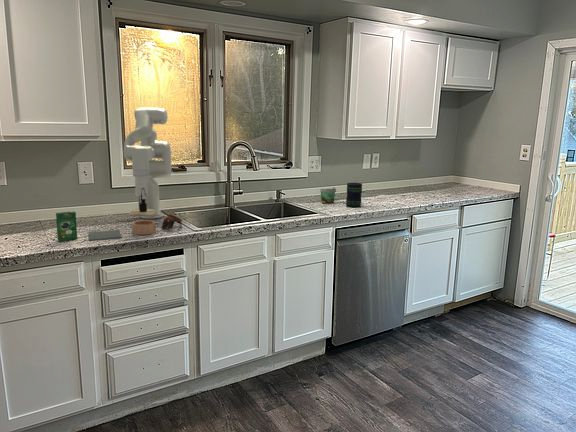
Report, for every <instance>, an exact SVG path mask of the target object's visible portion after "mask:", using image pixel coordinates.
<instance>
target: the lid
mask: <svg viewBox="0 0 576 432" xmlns="http://www.w3.org/2000/svg"><path fill="white" fill-rule="evenodd" d="M139 209H140V203H139V202H138V209H133V210H130V211H129V215H130V216H133V217H140V216H151V215H155V214H156V210H153V209H147V211H143V212H140V210H139Z"/></svg>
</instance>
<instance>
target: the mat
mask: <svg viewBox="0 0 576 432" xmlns="http://www.w3.org/2000/svg"><path fill="white" fill-rule="evenodd" d="M122 238H123V237H122V234H121V231H120V229H114V230H113V229H112V230H101V231H100V230H99V231H89V232H88V239H89V242H90V241H91V242H92V241H101V240H103V241H105V240H113V239H114V240H115V239H122Z"/></svg>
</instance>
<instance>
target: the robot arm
mask: <svg viewBox="0 0 576 432" xmlns="http://www.w3.org/2000/svg"><path fill="white" fill-rule="evenodd" d="M133 113H134V114H133V116H134V119H135V126H134V128H135V129H134V130H132V131H131V132H130V133H128V134H127V136H126V138H125V140H124V144H123V157H124V159H125V160H126V161H129V162H131V163H132V164H131V166H132V177H134V189H135V190H134V191H135V192H134V193H135V196H136V197H137V198H138V204H139V203H140V209H139V208H138V209H139V210H140V212H143V211H147V209H153V210H156V214H155V215H151V216H139V217H140V218H141V219H144V220H152V219H159V218H162V217H163V216H164V214H163V213H162V212H161V207H160V206H161V205H160V186H159V183H158V182H157V181H156V180H155V179H161V178H162V179H163V178H164V179H165V178H170V177H171V176H172V150H171V145H170V143H169V142H168V141H165V140H164V141H163V140H158V138H157V137H158V136H157V131H156V130H155V128H154V127H153V126H154V125H165V124H167V123H168V111H167V110H166V109H165V108H162V107H161V108H160V107H139V108H136V109H135V110H134V112H133ZM139 142H140V145H136V143H139ZM134 144H135V145H134ZM153 159H162V160H153Z"/></svg>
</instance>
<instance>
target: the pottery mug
mask: <svg viewBox="0 0 576 432" xmlns="http://www.w3.org/2000/svg"><path fill="white" fill-rule="evenodd" d="M175 223H177V224H179V228H180V229H181V228H182V226H183V224H182V223H183V220H182V219H181V218H180V217H177V216H176V215H173V214H168V216H166V217H165V218H164V219H163V220H162V223H161V224H162V226H161V229H163V230H165V231H167V230H168V229H169V230H171V229H173V227H174V225H175Z"/></svg>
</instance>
